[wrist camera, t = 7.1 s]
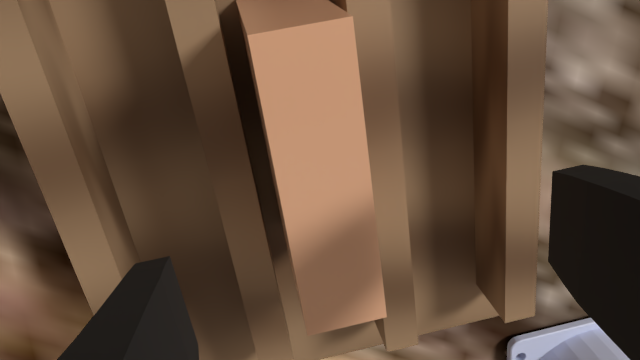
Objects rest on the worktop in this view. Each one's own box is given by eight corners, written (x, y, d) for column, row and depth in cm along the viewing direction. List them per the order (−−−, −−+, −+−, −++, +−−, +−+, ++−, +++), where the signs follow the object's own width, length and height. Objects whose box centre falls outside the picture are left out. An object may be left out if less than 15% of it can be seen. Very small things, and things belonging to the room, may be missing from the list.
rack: (494, 303, 24) (533, 355, 22) (158, 384, 23) (150, 452, 20) (494, -339, 15) (564, -404, 12) (-89, -269, 13) (-175, -324, 10)
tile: (340, 212, 20) (386, 317, 15) (281, 225, 20) (307, 336, 15) (307, -14, 17) (352, 16, 11) (235, -2, 16) (247, 35, 11)
